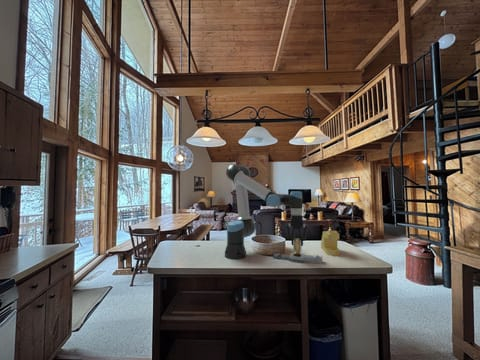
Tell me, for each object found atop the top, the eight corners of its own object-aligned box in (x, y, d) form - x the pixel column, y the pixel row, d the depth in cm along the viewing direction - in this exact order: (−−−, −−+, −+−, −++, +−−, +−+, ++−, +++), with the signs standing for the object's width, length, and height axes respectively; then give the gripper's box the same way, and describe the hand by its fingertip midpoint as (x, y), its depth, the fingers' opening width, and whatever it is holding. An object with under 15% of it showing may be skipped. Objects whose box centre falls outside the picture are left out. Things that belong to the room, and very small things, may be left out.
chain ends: (272, 258, 144) (272, 253, 144) (275, 255, 152) (275, 249, 152) (322, 264, 132) (322, 258, 132) (322, 260, 140) (322, 254, 140)
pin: (294, 258, 141) (293, 239, 141) (295, 256, 144) (294, 238, 145) (300, 258, 139) (299, 239, 140) (300, 257, 143) (300, 238, 143)
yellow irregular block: (341, 256, 150) (340, 232, 150) (327, 255, 151) (327, 232, 152) (333, 248, 169) (333, 227, 170) (321, 248, 171) (320, 227, 172)
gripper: (283, 214, 143) (283, 250, 142) (309, 215, 137) (310, 253, 136) (285, 213, 150) (285, 248, 149) (310, 214, 144) (311, 250, 143)
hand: (297, 250), depth 142 cm, fingers closed on pin, 3 cm apart
